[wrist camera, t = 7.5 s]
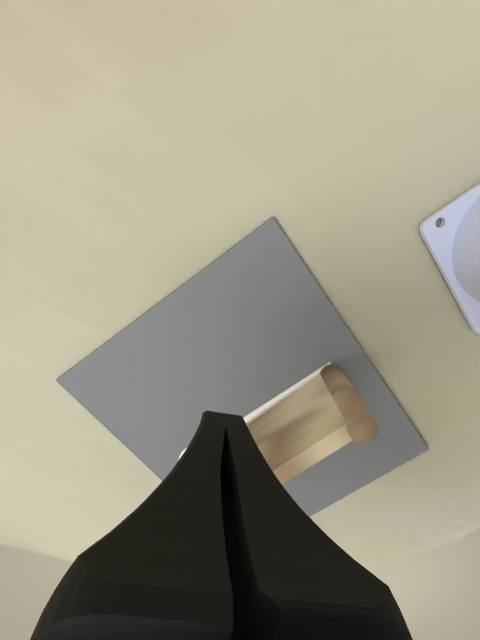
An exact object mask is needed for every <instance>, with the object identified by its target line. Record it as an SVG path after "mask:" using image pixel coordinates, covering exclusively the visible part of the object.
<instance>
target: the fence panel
mask: <svg viewBox="0 0 480 640" xmlns="http://www.w3.org/2000/svg"><path fill="white" fill-rule="evenodd" d="M247 427H248V429H249V431H250V433H251V435H252V437H253V439H254V441H255V442H256V444H257V446H258V448H259V450H260V451H261V453H262V455H263V456H264V458H265V460H266V462H267V463H268V465H269V466H270V468H271V469H272V471H273V472H274V474H275V475H276V477H277V478H278V480H279V481H280V483H281V484H283V483H285V482H287V481H288V480H290V479H291V478H293V477H295V476H296V475H298V474H299V473H301V472H303V471H304V470H306V469H307V468H309V467H311V466H312V465H314V464H315V463H317V462H319V461H320V460H322V459H324V458H325V457H327V456H328V455H330V454H332V453H333V452H335V451H336V450H338V449H340V448H341V447H343V446H344V445H346V444H348V443H349V442H351V441H352V440H353V441H355V442H358V443H366V442H369V441H371V440H372V439H374V438H375V437H376V436H377V434H378V431H379V426H378V423H377V422H376V420H375V419H374V417H373V416H372V414H371V413H370V411H369V410H368V408H367V407H366V405H365V404H364V402H363V401H362V399H361V398H360V397H359V395H358V394H357V392H356V391H355V389H354V388H353V386H352V385H351V383H350V382H349V380H348V379H347V377H346V376H345V374H344V373H343V371H342V370H341V368H340V367H339V366H337V365H334V364H330V365H327V366H325V367H324V368H322V370H321V371H320V376H318V377H317V378H315V379H314V380H312V381H311V382H310V383H308V384H307V385H305V386H304V387H302V388H301V389H299V390H298V391H296V392H295V393H293V394H292V395H290V396H289V397H287V398H286V399H284V400H283V401H281V402H280V403H278V404H277V405H275V406H274V407H272V408H271V409H270V410H268V411H267V412H265V413H264V414H262V415H261V416H259V417H258V418H256V419H255V420H253V421H252V422H250V423H249V424H247Z"/></svg>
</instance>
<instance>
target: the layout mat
mask: <svg viewBox="0 0 480 640" xmlns="http://www.w3.org/2000/svg"><path fill="white" fill-rule="evenodd" d="M330 364H334V365H337V366H339V367H340V368H341V370H342V371H343V373H344V374H345V376H346V377H347V379H348V380H349V382H350V383H351V385H352V386H353V388H354V389H355V391H356V392H357V394H358V395H359V397H360V398H361V399H362V401H363V402H364V404H365V405H366V407H367V408H368V410H369V411H370V413H371V414H372V416H373V417H374V419H375V420H376V422H377V423H378V426H379V431H378V434H377V436H376V437H375V438H374V439H372V440H371V441H369V442H366V443H358V442H355V441H353V440H352V441H351V442H349V443H348V444H346V445H344V446H343V447H341V448H340V449H338V450H336V451H335V452H333V453H332V454H330V455H328V456H327V457H325V458H324V459H322V460H320V461H319V462H317V463H315V464H314V465H312V466H311V467H309V468H307V469H306V470H304V471H303V472H301V473H299V474H298V475H296V476H295V477H293V478H291V479H290V480H288V481H287V482H285V483H283V484H282V485H283V487H284V488H285V489H286V491H287V492H288V493H289V495H290V496H291V497H292V498H293V499H294V501H295V502H296V503H297V504H298V505H299V507H300V508H301V509H302V510H303V511H304V512H305V513H306V514H307V515H308V516H309V517H310V516H311V515H313V514H315V513H317V512H318V511H320V510H322V509H324V508H326V507H327V506H329V505H331V504H333V503H334V502H336V501H338V500H340V499H342V498H343V497H345V496H347V495H349V494H350V493H352V492H354V491H356V490H358V489H359V488H361V487H363V486H365V485H366V484H368V483H370V482H372V481H374V480H375V479H377V478H379V477H381V476H382V475H384V474H386V473H388V472H390V471H391V470H393V469H395V468H397V467H398V466H400V465H402V464H404V463H406V462H407V461H409V460H411V459H413V458H414V457H416V456H418V455H420V454H421V453H423V452H425V451H427V450H429V448H428V447H427V445H426V444H425V442H424V441H423V439H422V438H421V436H420V435H419V433H418V432H417V430H416V429H415V427H414V426H413V424H412V423H411V421H410V420H409V419H408V417H407V416H406V414H405V413H404V411H403V410H402V408H401V407H400V405H399V404H398V402H397V401H396V399H395V398H394V396H393V395H392V393H391V392H390V390H389V389H388V387H387V386H386V384H385V383H384V381H383V380H382V378H381V377H380V375H379V374H378V372H377V371H376V369H375V368H374V366H373V365H372V363H371V362H370V360H369V359H368V357H367V356H366V355H365V353H364V352H363V350H362V349H361V347H360V346H359V344H358V343H357V341H356V340H355V338H354V337H353V335H352V334H351V332H350V331H349V329H348V328H347V326H346V325H345V323H344V322H343V320H342V319H341V317H340V316H339V314H338V313H337V311H336V310H335V308H334V307H333V305H332V304H331V302H330V301H329V299H328V298H327V296H326V295H325V293H324V292H323V291H322V289H321V288H320V286H319V285H318V283H317V282H316V280H315V279H314V277H313V276H312V274H311V273H310V271H309V270H308V268H307V267H306V265H305V264H304V262H303V261H302V259H301V258H300V256H299V255H298V253H297V252H296V250H295V249H294V247H293V246H292V244H291V243H290V241H289V240H288V238H287V237H286V235H285V234H284V232H283V231H282V229H281V228H280V227H279V225H278V224H277V222H276V221H275V219H274V218H273V217H271V218H270V219H269V220H267V221H266V222H265V223H263V224H262V225H261V226H259V227H258V228H257V229H255V230H254V231H253V232H251V233H250V234H249V235H247V236H246V237H245V238H243V239H242V240H241V241H239V242H238V243H237V244H235V245H234V246H233V247H231V248H230V249H229V250H227V251H226V252H225V253H223V254H222V255H221V256H219V257H218V258H217V259H215V260H214V261H213V262H211V263H210V264H209V265H207V266H206V267H205V268H203V269H202V270H201V271H200V272H198V273H197V274H196V275H194V276H193V277H192V278H190V279H189V280H188V281H186V282H185V283H184V284H182V285H181V286H180V287H178V288H177V289H176V290H174V291H173V292H172V293H170V294H169V295H168V296H166V297H165V298H164V299H162V300H161V301H160V302H158V303H157V304H156V305H154V306H153V307H152V308H150V309H149V310H148V311H146V312H145V313H144V314H142V315H141V316H140V317H138V318H137V319H136V320H134V321H133V322H132V323H130V324H129V325H128V326H126V327H125V328H124V329H122V330H121V331H120V332H118V333H117V334H116V335H115V336H113V337H112V338H111V339H109V340H108V341H107V342H105V343H104V344H103V345H101V346H100V347H99V348H97V349H96V350H95V351H93V352H92V353H91V354H89V355H88V356H87V357H85V358H84V359H83V360H81V361H80V362H79V363H77V364H76V365H75V366H73V367H72V368H71V369H69V370H68V371H67V372H65V373H64V374H63V375H61V376H60V377H59V378H58V379H57V380H56V381H57V382H58V383H59V384H60V385H61V386H62V387H63V388H64V389H65V390H67V391H68V392H69V393H70V394H71V395H72V396H73V397H74V398H75V399H76V400H77V401H78V402H79V403H80V404H81V405H82V406H84V407H85V408H86V409H87V410H88V411H89V412H90V413H91V414H92V415H93V416H94V417H95V418H96V419H97V420H98V421H99V422H101V423H102V424H103V425H104V426H105V427H106V428H107V429H108V430H109V431H110V432H111V433H112V434H113V435H114V436H115V437H116V438H117V439H119V440H120V441H121V442H122V443H123V444H124V445H125V446H126V447H127V448H128V449H129V450H130V451H131V452H132V453H133V454H134V455H136V456H137V457H138V458H139V459H140V460H141V461H142V462H143V463H144V464H145V465H146V466H147V467H148V468H149V469H150V470H151V471H153V472H154V473H155V474H156V475H157V476H158V477H159V478H160V479H161V480H162V481H163V480H164V479H165V478H166V477H167V475H168V474H169V473H170V472H171V470H172V469H173V468H174V466H175V465H176V464H177V462H178V461H179V459H180V458H181V456H182V455H183V453H184V452H185V450H186V449H187V447H188V446H189V444H190V442H191V440H192V439H193V437H194V435H195V433H196V431H197V429H198V427H199V424H200V422H201V418H202V413H203V412H205V411H206V410H207V411H213V412H220V413H227V414H233V415H240V416H242V417H243V418H244V420H245V422H246V425H247V424H249V423H250V422H252V421H253V420H255V419H256V418H258V417H259V416H261V415H262V414H264V413H265V412H267V411H268V410H270V409H271V408H272V407H274V406H275V405H277V404H278V403H280V402H281V401H283V400H284V399H286V398H287V397H289V396H290V395H292V394H293V393H295V392H296V391H298V390H299V389H301V388H302V387H304V386H305V385H307V384H308V383H310V382H311V381H312V380H314V379H315V378H317V377H318V376H320V371H321V370H322V368H324V367H325V366H327V365H330Z"/></svg>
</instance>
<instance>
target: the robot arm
mask: <svg viewBox="0 0 480 640" xmlns="http://www.w3.org/2000/svg"><path fill="white" fill-rule="evenodd" d="M438 218H440V219H441V223H440V225H439V226H438V227H437V226H436V224H435V223H436V220H437V219H438ZM419 231H420V234H421V236H422V238H423V240H424V242H425V244H426V245H427V247H428V249H429V251H430V253H431V255H432V257H433V258H434V260H435V262H436V264H437V266H438V268H439V270H440V272H441V273H442V275H443V277H444V279H445V281H446V283H447V285H448V287H449V288H450V290H451V292H452V294H453V296H454V298H455V300H456V302H457V303H458V305H459V307H460V309H461V311H462V313H463V315H464V317H465V318H466V320H467V322H468V324H469V326H470V328H471V329H472V331H474V332H476V333H478V334H480V182H479V183H478V184H476V185H475V186H473V187H472V188H470V189H469V190H467V191H466V192H465V193H463V194H462V195H460V196H459V197H457V198H456V199H454V200H453V201H451V202H450V203H449V204H447V205H446V206H444V207H443V208H441V209H440V210H438V211H437V212H435V213H434V214H433V215H431V216H430V217H428V218H427V219H425V220H424V221H423V222H422V223H421V225H420V228H419ZM30 640H413V639H412V637H411V635H410V632H409V630H408V628H407V625H406V623H405V620H404V618H403V615H402V613H401V611H400V608H399V606H398V604H397V602H396V601H395V599H394V597H393V595H392V593H391V591H390V589H389V586H387V585H386V584H385V583H383V582H382V581H381V580H380V579H378V578H377V577H376V576H374V575H373V574H372V573H371V572H369V571H368V570H367V569H366V568H364V567H363V566H362V565H360V564H359V563H358V562H357V561H355V560H354V559H353V558H352V557H350V556H349V555H348V554H347V553H346V552H345V551H344V550H343V549H341V548H340V547H339V546H338V545H337V544H336V543H335V542H334V541H332V540H331V539H330V538H329V537H328V536H327V535H326V534H325V533H324V532H323V531H322V530H321V529H320V528H319V527H318V526H317V525H316V524H315V523H314V522H313V521H312V520H311V519H310V518H309V516H308V515H307V514H306V513H305V512H304V511H303V510H302V509H301V508H300V507H299V505H298V504H297V503H296V502H295V501H294V499H293V498H292V497H291V496H290V495H289V493H288V492H287V491H286V489H285V488H284V487H283V485H282V484H281V483H280V481H279V480H278V478H277V477H276V475H275V474H274V472H273V471H272V469H271V468H270V466H269V465H268V463H267V462H266V460H265V458H264V456H263V455H262V453H261V451H260V450H259V448H258V446H257V444H256V442H255V441H254V439H253V437H252V435H251V433H250V431H249V429H248V427H247V425H246V422H245V420H244V418H243V417H242V416H240V415H233V414H227V413H220V412H213V411H207V410H206V411H205V412H203V413H202V418H201V422H200V424H199V427H198V429H197V431H196V433H195V435H194V437H193V439H192V440H191V442H190V444H189V446H188V447H187V449H186V450H185V452H184V453H183V455H182V456H181V458H180V459H179V461H178V462H177V464H176V465H175V466H174V468H173V469H172V470H171V472H170V473H169V474H168V475H167V477H166V478H165V479H164V480H163V481H162V483H161V484H160V485H159V486H158V487H157V488H156V489H155V490H154V491H153V492H152V494H151V495H150V496H149V497H148V498H147V499H146V500H145V501H144V502H143V503H142V504H141V505H140V506H139V507H138V508H137V509H136V510H135V511H133V512H132V513H131V514H130V515H129V516H128V517H127V518H126V519H124V520H123V521H122V522H121V523H120V524H119V525H118V526H117V527H115V528H114V529H113V530H112V531H111V532H109V533H108V534H107V535H105V536H104V537H103V538H101V539H100V540H99V541H97V542H96V543H95V544H93V545H92V546H91V547H89V548H88V549H87V550H85V551H84V552H83V553H81V554H80V555H79V556H78V557H77V558H76V560H75V561H74V562H73V564H72V565H71V567H70V568H69V570H68V571H67V572H66V574H65V575H64V577H63V578H62V580H61V582H60V583H59V585H58V586H57V587H56V589H55V591H54V593H53V594H52V596H51V598H50V600H49V602H48V603H47V605H46V607H45V608H44V610H43V612H42V614H41V616H40V618H39V621H38V623H37V625H36V628H35V630H34V632H33V634H32V636H31V639H30Z"/></svg>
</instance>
